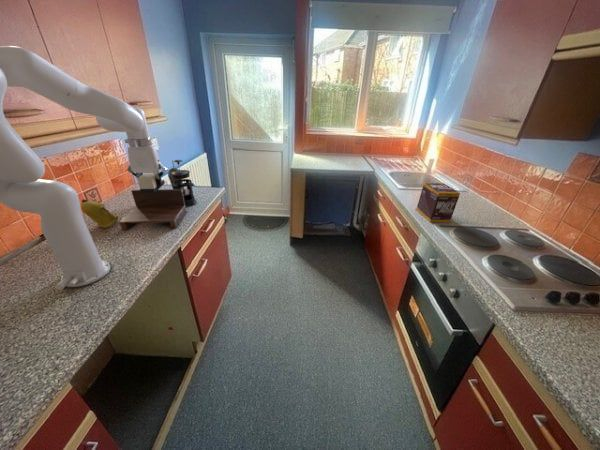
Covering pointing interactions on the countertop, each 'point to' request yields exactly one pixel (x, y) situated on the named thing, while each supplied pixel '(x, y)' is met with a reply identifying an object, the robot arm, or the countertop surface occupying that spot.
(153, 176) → the beige cuboid
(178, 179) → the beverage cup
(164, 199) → the shoe shelf
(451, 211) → the supplement box
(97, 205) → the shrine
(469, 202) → the countertop surface
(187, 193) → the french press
